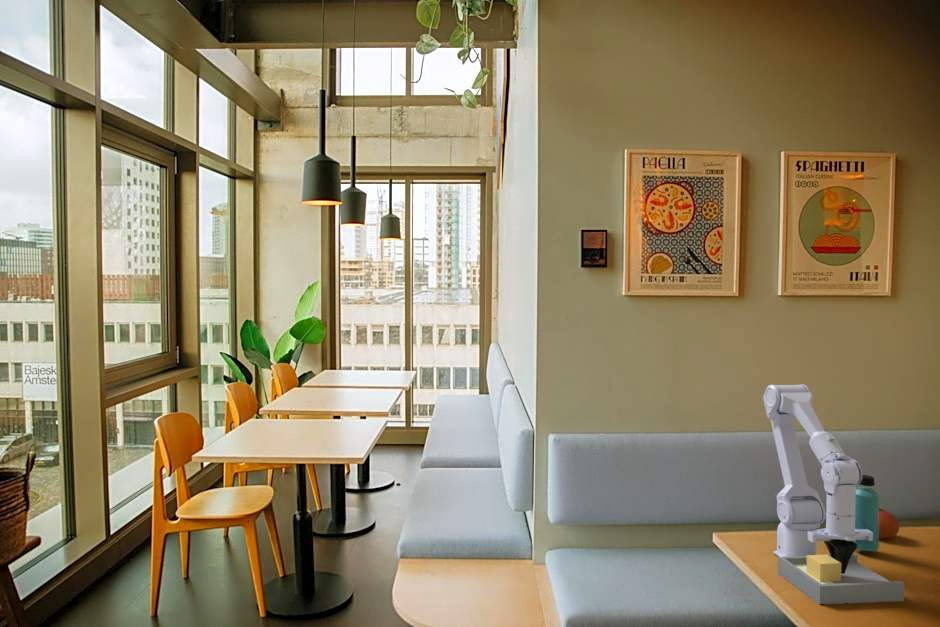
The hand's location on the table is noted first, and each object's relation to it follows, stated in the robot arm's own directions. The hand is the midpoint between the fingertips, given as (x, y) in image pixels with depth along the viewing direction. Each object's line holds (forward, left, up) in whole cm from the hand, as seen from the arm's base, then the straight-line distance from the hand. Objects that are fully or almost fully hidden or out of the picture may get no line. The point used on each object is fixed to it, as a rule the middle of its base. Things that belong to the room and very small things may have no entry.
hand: (839, 571), depth 149 cm
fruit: (-29, +32, -4) cm, 43 cm away
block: (0, -4, -1) cm, 4 cm away
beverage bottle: (-19, +20, -4) cm, 27 cm away
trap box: (0, 0, -3) cm, 3 cm away
